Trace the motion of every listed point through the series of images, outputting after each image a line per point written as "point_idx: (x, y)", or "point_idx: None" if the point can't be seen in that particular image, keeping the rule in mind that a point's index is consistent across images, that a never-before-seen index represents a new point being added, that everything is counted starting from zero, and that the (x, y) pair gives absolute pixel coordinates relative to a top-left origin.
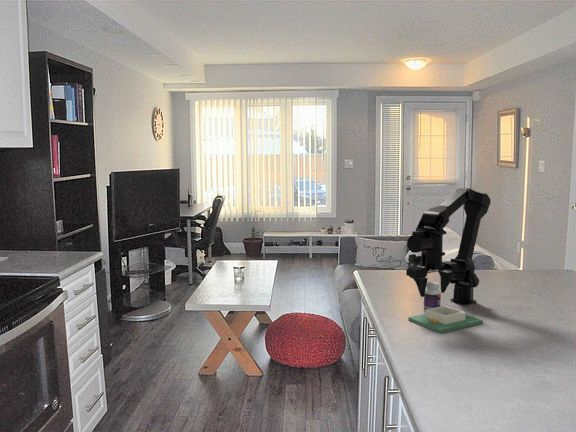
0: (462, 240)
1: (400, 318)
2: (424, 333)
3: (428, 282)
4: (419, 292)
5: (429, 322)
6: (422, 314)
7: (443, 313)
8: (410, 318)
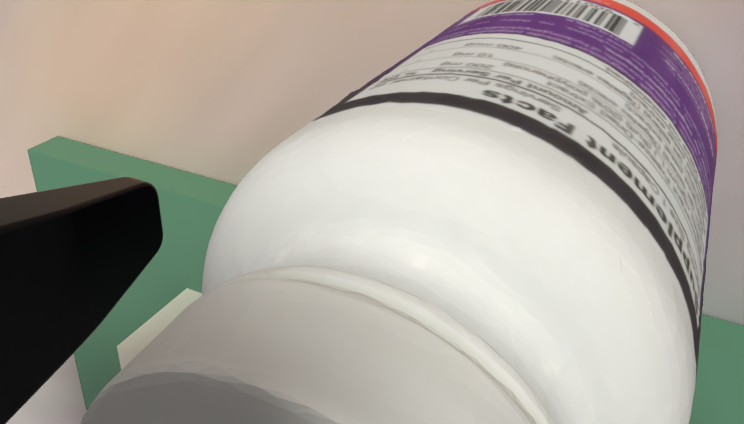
0: None
1: (15, 26)
2: (33, 400)
3: (238, 415)
4: (31, 202)
5: None
6: (215, 209)
7: None
8: (38, 182)
